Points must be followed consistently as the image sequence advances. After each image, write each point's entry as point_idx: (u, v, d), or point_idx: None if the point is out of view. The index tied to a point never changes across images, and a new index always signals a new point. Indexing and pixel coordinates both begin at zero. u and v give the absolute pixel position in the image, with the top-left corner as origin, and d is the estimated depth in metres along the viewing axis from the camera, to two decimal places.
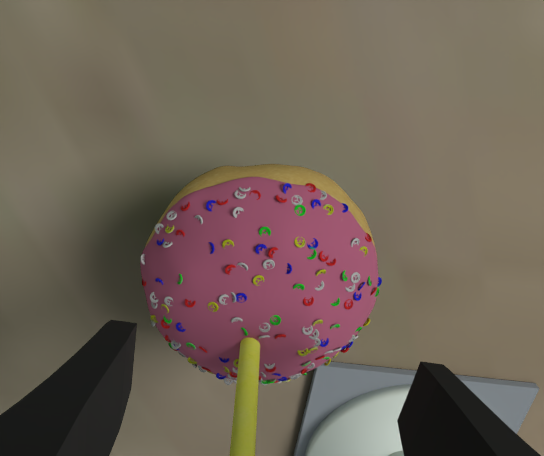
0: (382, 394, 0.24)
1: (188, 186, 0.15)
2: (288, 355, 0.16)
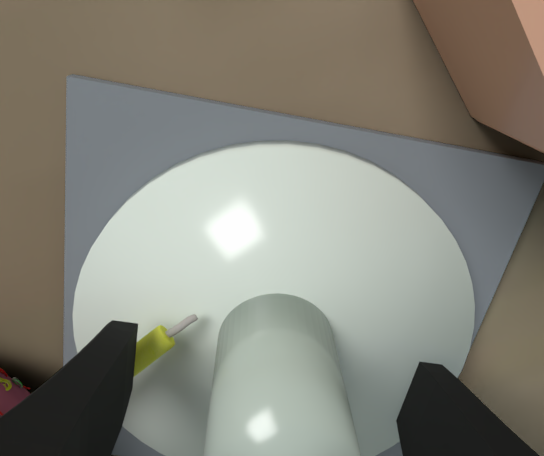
0: None
1: None
2: (17, 399, 0.13)
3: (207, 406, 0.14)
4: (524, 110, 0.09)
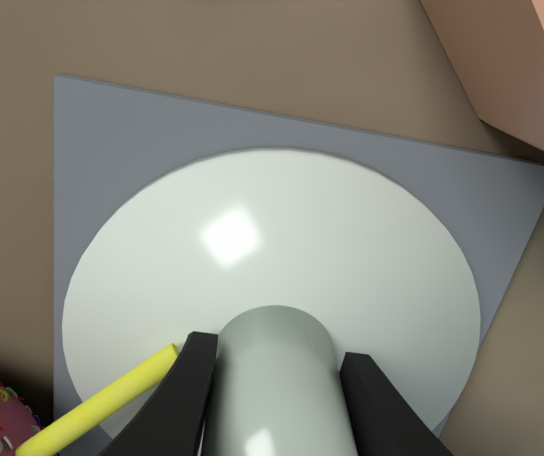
0: (85, 391, 0.13)
1: None
2: (14, 411, 0.12)
3: None
4: (538, 112, 0.08)
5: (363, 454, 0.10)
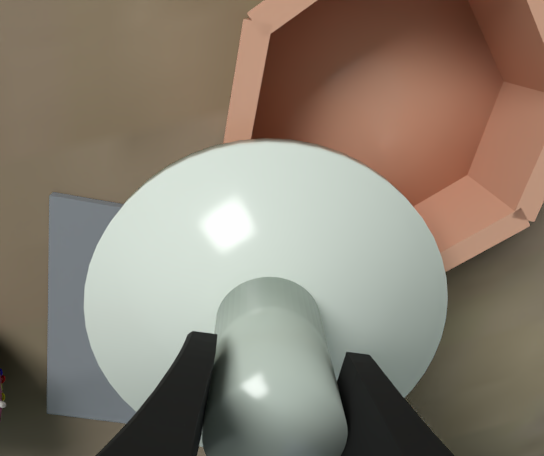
0: (98, 349, 0.15)
1: None
2: None
3: None
4: None
5: (364, 454, 0.10)
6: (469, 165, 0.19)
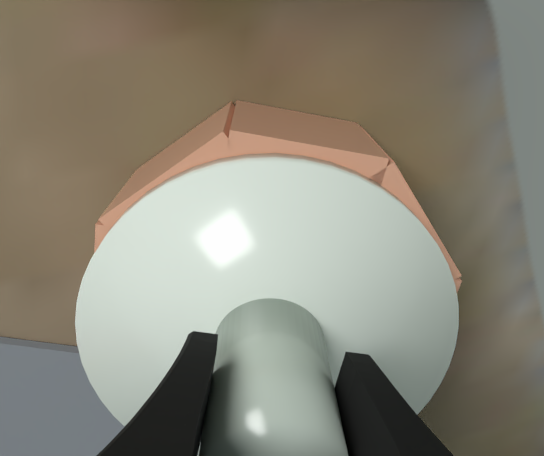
0: (89, 365, 0.14)
1: None
2: None
3: None
4: None
5: (363, 454, 0.10)
6: None
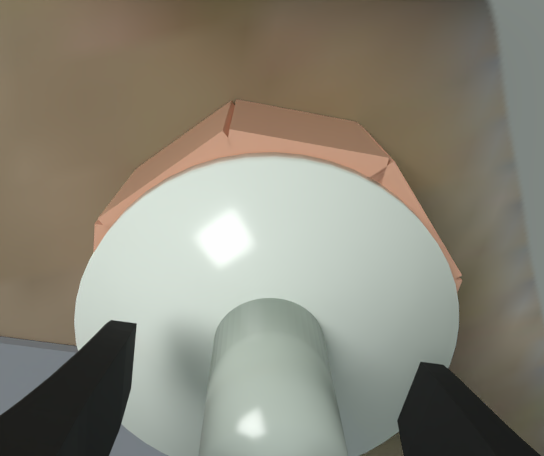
0: None
1: None
2: None
3: (195, 400, 0.14)
4: None
5: None
6: None
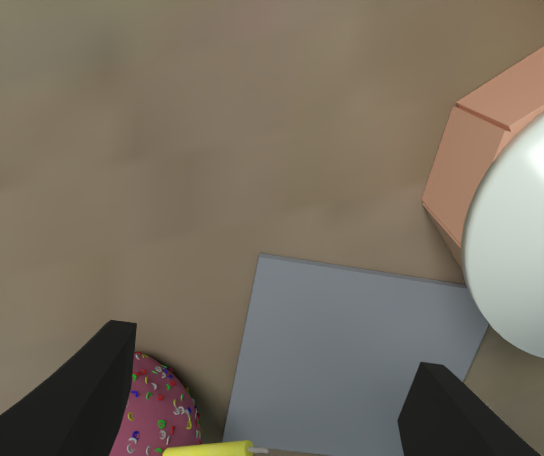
0: (466, 258, 0.17)
1: None
2: (186, 437, 0.22)
3: None
4: None
5: None
6: None
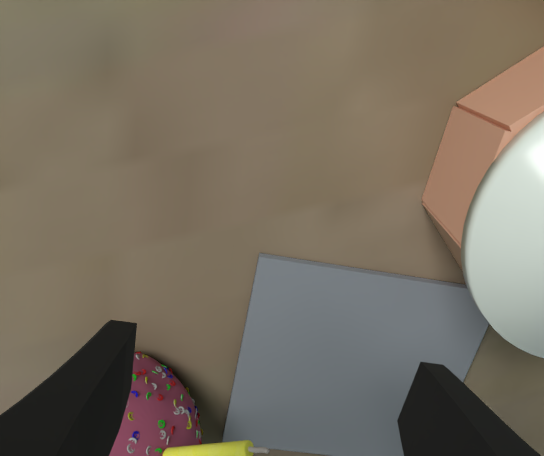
0: (466, 258, 0.17)
1: None
2: (186, 437, 0.22)
3: None
4: None
5: None
6: None
